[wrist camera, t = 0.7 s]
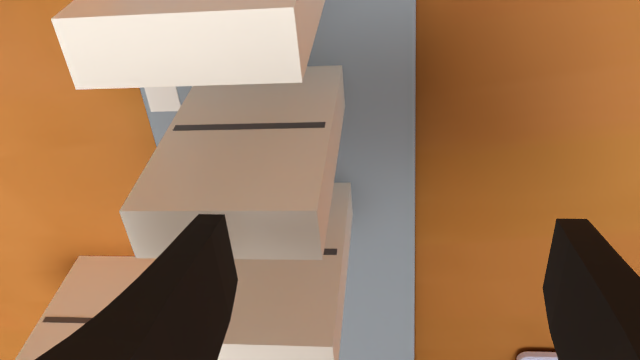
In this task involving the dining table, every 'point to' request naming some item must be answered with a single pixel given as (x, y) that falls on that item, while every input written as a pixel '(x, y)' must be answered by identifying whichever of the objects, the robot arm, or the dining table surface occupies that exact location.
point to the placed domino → (82, 298)
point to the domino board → (364, 165)
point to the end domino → (186, 41)
